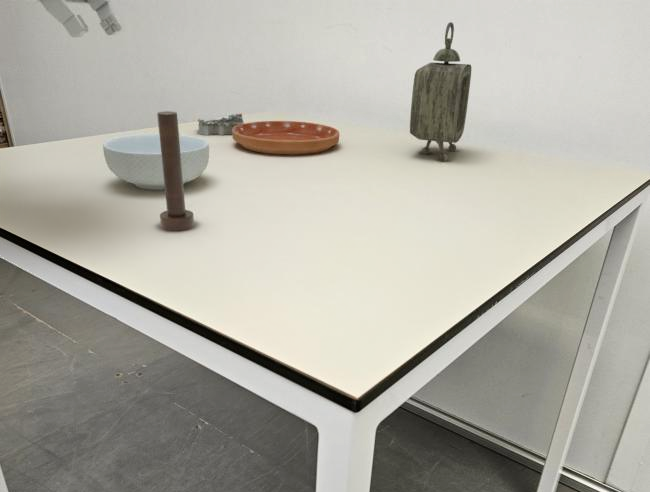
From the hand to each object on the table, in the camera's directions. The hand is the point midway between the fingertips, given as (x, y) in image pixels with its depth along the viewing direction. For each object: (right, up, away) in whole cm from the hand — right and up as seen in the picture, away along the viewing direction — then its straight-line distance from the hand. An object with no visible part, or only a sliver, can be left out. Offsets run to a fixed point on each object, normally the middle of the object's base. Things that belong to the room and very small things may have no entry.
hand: (99, 33), depth 72 cm
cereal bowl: (-1, -11, +29) cm, 31 cm away
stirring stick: (+7, -22, +10) cm, 25 cm away
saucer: (+19, +4, +58) cm, 61 cm away
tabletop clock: (+50, 0, +54) cm, 74 cm away
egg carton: (+3, +10, +70) cm, 71 cm away
